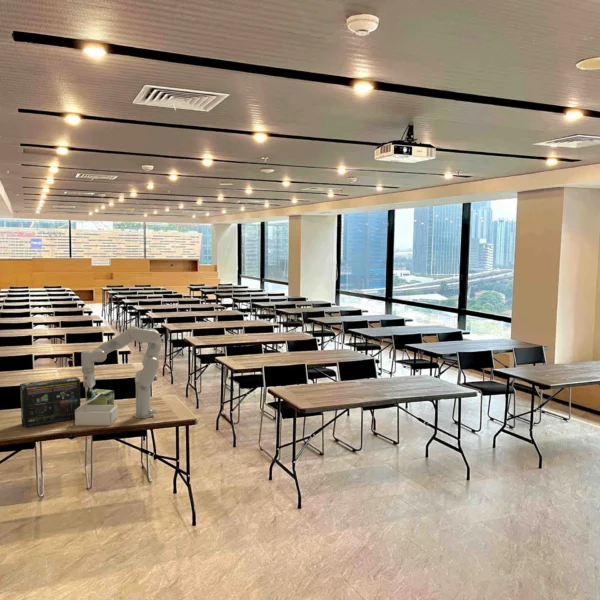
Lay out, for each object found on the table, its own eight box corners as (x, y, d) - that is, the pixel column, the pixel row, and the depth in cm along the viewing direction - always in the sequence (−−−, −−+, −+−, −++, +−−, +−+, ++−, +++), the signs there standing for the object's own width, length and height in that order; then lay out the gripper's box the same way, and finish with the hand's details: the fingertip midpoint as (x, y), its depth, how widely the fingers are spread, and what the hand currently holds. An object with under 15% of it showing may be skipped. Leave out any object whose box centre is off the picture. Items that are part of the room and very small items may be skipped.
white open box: (118, 418, 380) (118, 405, 379) (111, 425, 364) (111, 412, 363) (83, 417, 379) (83, 404, 378) (75, 425, 363) (74, 411, 362)
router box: (77, 414, 385) (76, 376, 382) (82, 419, 376) (81, 379, 373) (19, 423, 364) (18, 383, 361) (23, 428, 355) (21, 386, 352)
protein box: (106, 416, 382) (106, 394, 381) (85, 414, 385) (85, 392, 384) (114, 412, 393) (114, 390, 391) (94, 410, 396) (94, 388, 394)
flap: (100, 393, 377) (95, 386, 376) (93, 400, 362) (88, 392, 361) (83, 404, 377) (77, 397, 376) (75, 411, 362) (69, 403, 362)
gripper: (90, 372, 360) (91, 401, 362) (97, 367, 375) (99, 394, 377) (78, 372, 359) (79, 401, 361) (86, 367, 375) (87, 394, 377)
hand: (89, 397), depth 369 cm, fingers closed
